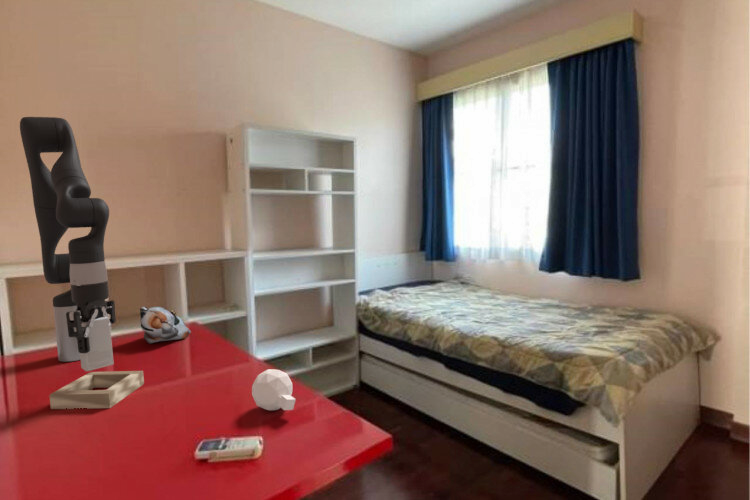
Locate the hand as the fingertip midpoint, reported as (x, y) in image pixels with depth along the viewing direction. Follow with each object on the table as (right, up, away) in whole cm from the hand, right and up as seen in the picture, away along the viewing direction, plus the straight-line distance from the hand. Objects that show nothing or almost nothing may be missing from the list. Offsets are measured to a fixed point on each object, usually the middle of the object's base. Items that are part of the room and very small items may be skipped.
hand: (95, 347), depth 105 cm
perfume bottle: (+46, -12, -10) cm, 49 cm away
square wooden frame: (+1, -12, +1) cm, 12 cm away
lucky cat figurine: (-6, -9, +48) cm, 49 cm away
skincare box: (0, -5, 0) cm, 5 cm away
